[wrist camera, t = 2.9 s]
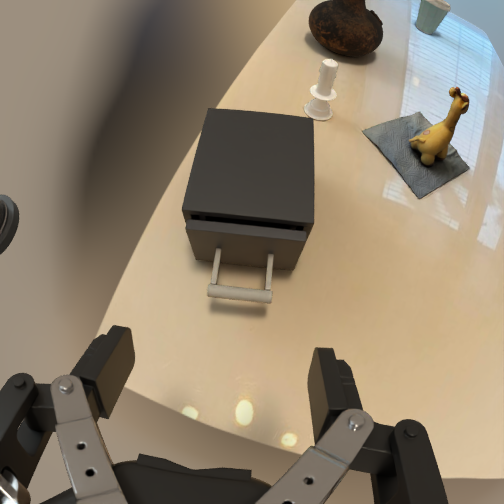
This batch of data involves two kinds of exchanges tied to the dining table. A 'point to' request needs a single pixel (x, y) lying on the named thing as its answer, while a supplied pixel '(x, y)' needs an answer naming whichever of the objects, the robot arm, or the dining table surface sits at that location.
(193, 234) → the drawer
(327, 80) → the candle
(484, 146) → the dining table surface
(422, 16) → the disposable coffee cup
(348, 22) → the glass bottle
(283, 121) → the dark gray cabinet
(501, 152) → the dining table surface
